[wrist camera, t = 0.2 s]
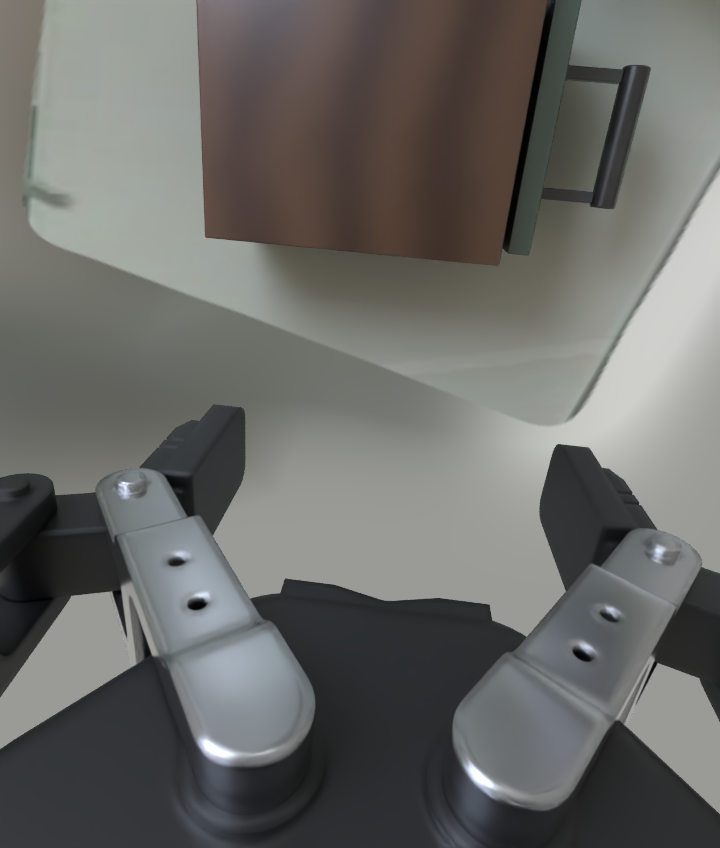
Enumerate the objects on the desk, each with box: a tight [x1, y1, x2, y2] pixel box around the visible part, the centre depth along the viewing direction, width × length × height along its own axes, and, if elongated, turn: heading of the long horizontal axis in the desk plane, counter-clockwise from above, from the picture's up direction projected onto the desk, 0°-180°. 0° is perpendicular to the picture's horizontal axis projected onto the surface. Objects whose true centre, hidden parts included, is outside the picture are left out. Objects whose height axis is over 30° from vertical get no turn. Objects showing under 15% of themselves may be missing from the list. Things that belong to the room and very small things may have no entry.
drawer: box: [502, 0, 651, 255], centre depth 32 cm, size 20×12×8 cm, turn 85°
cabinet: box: [196, 0, 548, 266], centre depth 32 cm, size 17×14×10 cm
